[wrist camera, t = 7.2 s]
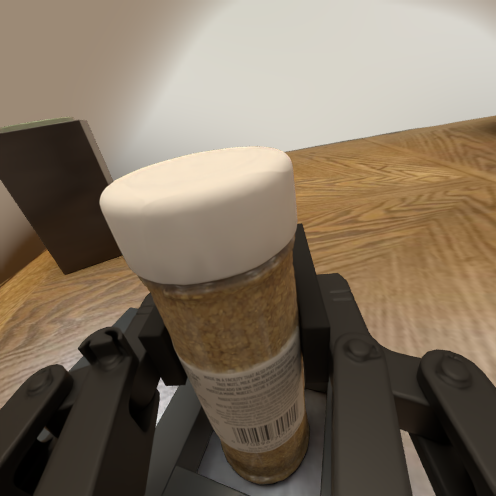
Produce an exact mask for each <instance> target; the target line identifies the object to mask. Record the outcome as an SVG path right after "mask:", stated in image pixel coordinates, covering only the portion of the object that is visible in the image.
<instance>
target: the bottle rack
mask: <svg viewBox="0 0 496 496" xmlns="http://www.w3.org/2000/svg"><path fill="white" fill-rule="evenodd" d="M137 311H138V309H137V308H129V309H128V310H127V311H126V312H125V313H124V314H123V315H122V316H121V317H120V318H119V319H118V321H117V322H116V323H115V324H114V325H113V326H115V327H118V328H120V329H121V331H122V333H123V334H124V332H125V331H126V329H127V327H128V326H129V324H130V322H131V321H132V319H133V317H134V316H135V315H136V312H137ZM113 326H112V327H113ZM88 365H90V364H89V362H88V361H87V360H86V358H85V357H84V356H83V357H82V358H81V359H80V360H79V361H78V362H77V363H76V364H75V365H74V366H73V367H72V368H71V369H70V370H69V371H68V372H70V371H73V370H76V369H79V368H82V367H85V366H88ZM303 366H304V364H303ZM304 384H305V386H304V388H309V389H313V390H317V391H321V392H326V393H327V403H326V418H325V433H324V448H323V463H322V478H321V493H320V496H331V418H332V409H331V400H332V387H331V382H330V378H329V382H319V383H306V379H305V372H304ZM212 431H213V427H212V425H211V423H210V421H209V419H208V417H207V415H206V413H205V411H204V409H203V407H202V405H201V403H200V401H199V399H198V397H197V395H196V393H195V391H194V388H193V386H192V384H191V382H190V380H189V378H187V382H186V385H179V387H178V388H177V390H176V392H175V394H174V396H173V397H172V399H171V401H170V403H169V405H168V406H167V408H166V410H165V412H164V414H163V415H162V417H161V419H160V421H159V423H158V424H157V426H156V428H155V433H154V440H153V446H152V453H151V459H150V466H149V472H148V479H147V485H146V492H145V496H249V495H247V494H245V493H242V492H240V491H237V490H235V489H233V488H230V487H228V486H225V485H223V484H221V483H218V482H216V481H214V480H211V479H209V478H206V477H204V476H202V475H199V474H197V473H196V472H197V470H198V467H199V464H200V462H201V459H202V457H203V454H204V452H205V449H206V446H207V444H208V441H209V439H210V436H211V433H212ZM49 434H50V432H48V431H47V430H46V429H45V428H44V429H43V430H42V432H41V433H40V435H39V436H38V437H37V439H38V440H39V441H42V440H44V439H45V438H46V437H47V436H48V435H49Z"/></svg>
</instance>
